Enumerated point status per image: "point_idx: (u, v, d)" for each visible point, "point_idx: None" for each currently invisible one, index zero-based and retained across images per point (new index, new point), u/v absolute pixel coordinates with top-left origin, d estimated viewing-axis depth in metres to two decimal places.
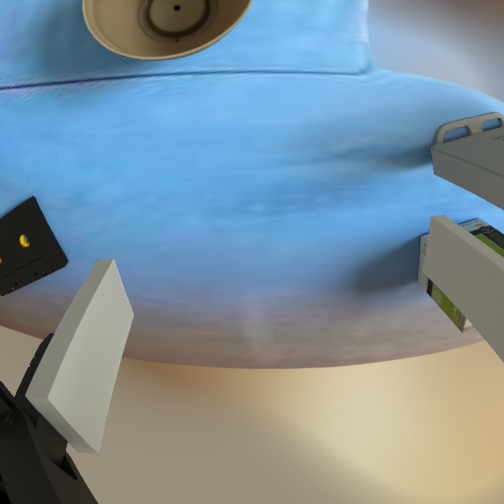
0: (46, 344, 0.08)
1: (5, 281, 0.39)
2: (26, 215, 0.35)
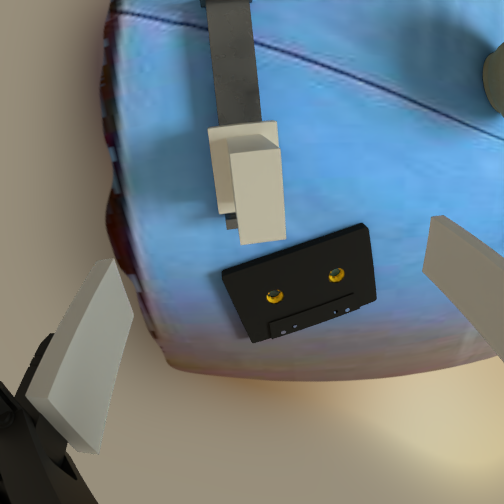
0: (46, 344, 0.08)
1: (276, 325, 0.39)
2: (355, 245, 0.35)
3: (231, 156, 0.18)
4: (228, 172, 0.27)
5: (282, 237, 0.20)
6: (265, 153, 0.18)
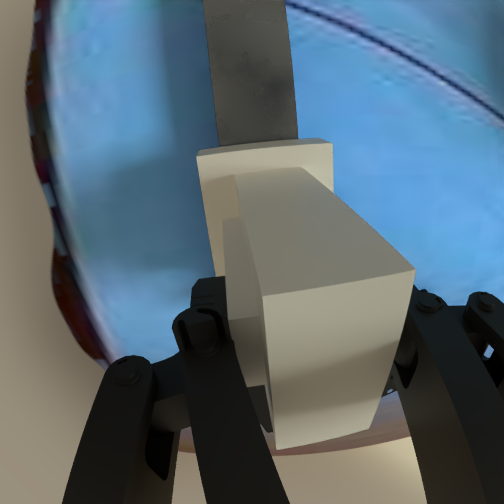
0: (201, 287, 0.10)
1: None
2: None
3: (267, 303, 0.05)
4: None
5: (363, 428, 0.08)
6: (374, 287, 0.05)
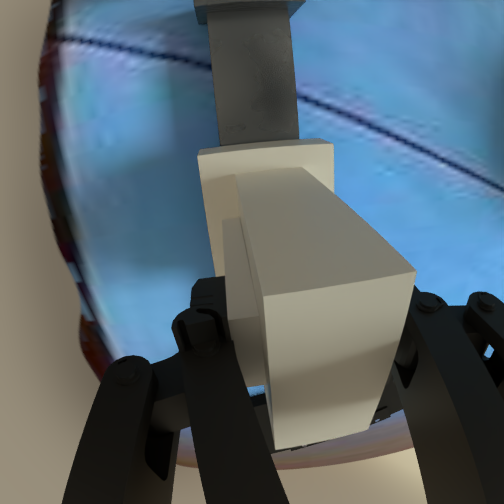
0: (200, 287, 0.10)
1: None
2: None
3: (268, 304, 0.05)
4: None
5: (361, 429, 0.08)
6: (374, 288, 0.05)
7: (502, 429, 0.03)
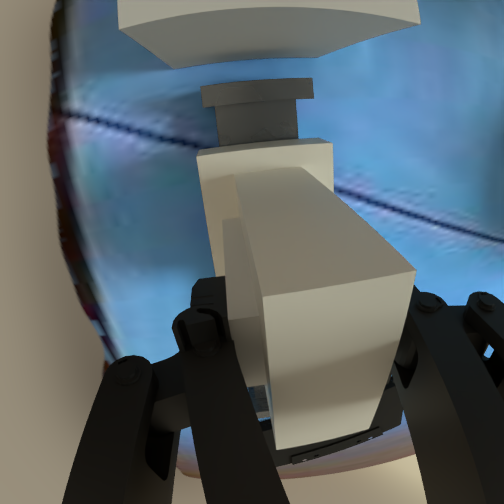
0: (200, 287, 0.10)
1: (298, 457, 0.32)
2: (390, 396, 0.28)
3: (267, 304, 0.05)
4: None
5: (363, 428, 0.08)
6: (374, 287, 0.05)
7: (502, 429, 0.03)
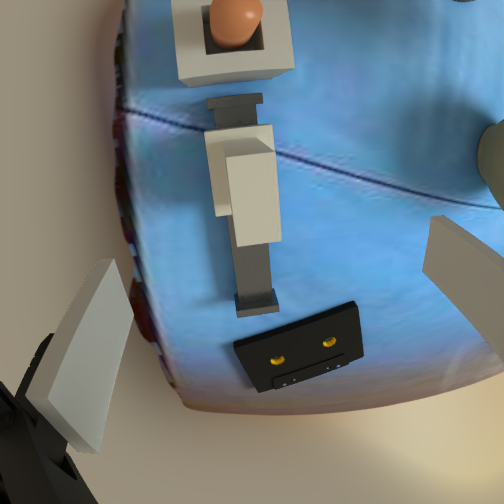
0: (47, 344, 0.08)
1: (278, 380, 0.45)
2: (346, 319, 0.41)
3: (227, 160, 0.18)
4: (224, 175, 0.27)
5: (278, 239, 0.21)
6: (260, 156, 0.18)
7: None
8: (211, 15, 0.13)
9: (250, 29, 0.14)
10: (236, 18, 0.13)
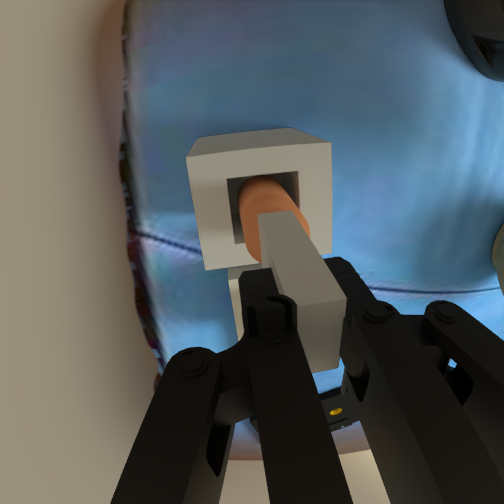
0: (247, 279, 0.10)
1: None
2: None
3: None
4: None
5: None
6: None
7: (466, 445, 0.03)
8: (247, 245, 0.14)
9: None
10: None
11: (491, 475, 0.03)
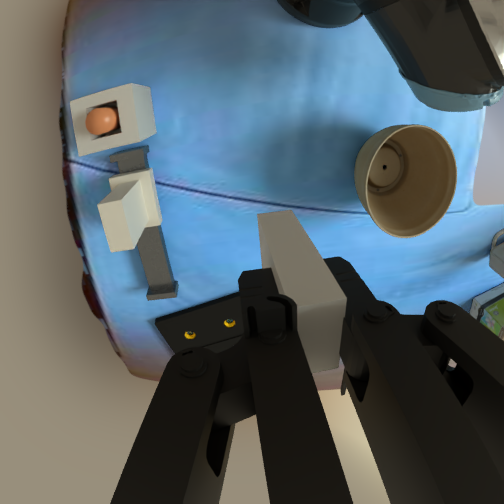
0: (247, 279, 0.10)
1: None
2: (239, 305, 0.54)
3: (98, 206, 0.31)
4: None
5: (131, 248, 0.34)
6: (114, 203, 0.31)
7: (466, 445, 0.03)
8: (86, 126, 0.28)
9: (105, 131, 0.29)
10: (97, 126, 0.28)
11: (491, 475, 0.03)
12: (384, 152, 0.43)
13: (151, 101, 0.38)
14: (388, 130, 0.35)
